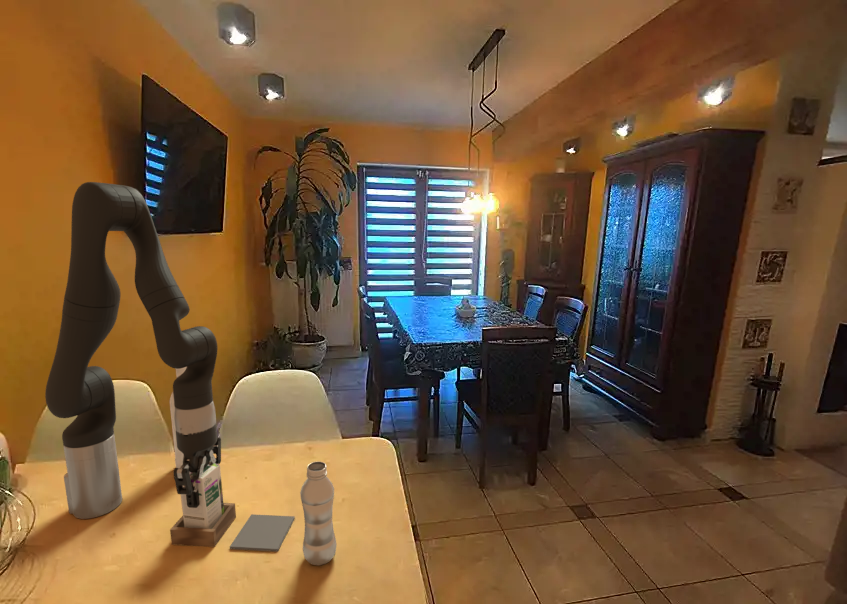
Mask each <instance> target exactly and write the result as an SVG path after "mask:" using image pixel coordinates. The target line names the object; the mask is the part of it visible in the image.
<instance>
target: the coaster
mask: <svg viewBox="0 0 847 604" xmlns="http://www.w3.org/2000/svg"><path fill="white" fill-rule="evenodd" d="M295 520H296V517H295V515H293V516H292V515H275V514H273V515H270V514H255V513H254V514H253V513H252V514H250V516H249V517H248V519H247V520H246V522H245V523H244V524H243V526H242V528H241V529H240V530H239V532H238V534H237V535H236V537H235V538H234V540H232V542H231V544H230V546H229V550H239V551H240V550H241V551H259V552H260V551H261V552H277V553H278V552H279V550H280V548H281V546H282V544H283V542H284V541H285V538H286V536H287V534H288V533H289V531H290V529H291V527H292V525H293V523H294V521H295Z"/></svg>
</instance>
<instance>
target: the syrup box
mask: <svg viewBox="0 0 847 604" xmlns="http://www.w3.org/2000/svg"><path fill="white" fill-rule="evenodd" d="M189 472H190V471H189ZM190 475H197V473H193V472H191V473H190ZM193 483H194V480H191V484H192V486H193ZM198 491H199V503H200V504H199V506H198V507H197V508H189V507H188V506H187V500H186V494H180V500H181V509H182V516H183V519H184V528H204V529H212V528H213V527H214V525H215V524H216V523H217V521H218V520H219V519H220V518H221V516H222V515H223V514H224V504H223V503H224V496H223V495H224V494H223V493H224V492H223V484H222V472H221V465H220V464H208V465H207V466H206V467H204V469H203V474H202V477H201V478H200V479H199V480H198Z"/></svg>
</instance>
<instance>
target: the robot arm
mask: <svg viewBox="0 0 847 604" xmlns="http://www.w3.org/2000/svg"><path fill="white" fill-rule="evenodd" d="M149 208H150V207H148V204H147V201H146V200H145V198H144V196H143V195H142V193H141V192H140V191H139V190H138V189H137V188H134V187H133V186H128V185H122V184H115V183H107V182H97V181H87V182H84V183H81V184H80V185H79V186H78V187H77V189H76V191H75V193H74V195H73V201H72V205H71V227H70V228H71V233H70V234H71V235H70V236H71V237H70V240H71V241H70V255H69V256H70V258H69V266H68V273H67V275H68V276H67V283H66V287H65V292H64V296H63V302H62V303H63V305H62V311H61V313H62V314H61V322H60V329H59V333H58V334H59V335H58V339H57V345H56V350H55V354H54V358H53V362H52V364H51V367H50V368H51V369H50V371H49V375H48V379H47V382H46V385H45V395H44V397H45V404H46V407H47V409H48V411H49V412H50V413H51V414H52V415H53V416H55V417H56V418H59V419H70V418H73V417H76V418H75V419H74V420H73V421H71V423H70V424H68V425H67V426H66V427H65V429H63V431H62V434H61V438H62V444H63V453H64V457H65V458H64V460H65V465H66V472H67V473H65V474H64V475H63V481H64V489H65V495H66V502H67V507H68V514H69V515H70V514H72V515H73V516H74V517H75V518H76V519H82V520H85V519H86V520H89V519H93V518H98V517H100V516H103V515H105V514H108V513H110V512H112V511H114V510H115V509H117V508H118V507H119V506H120V505H121V503H122V502H123V495H122V494H123V493H122V484H121V477H120V469H119V462H118V460H119V459H118V453H117V444H116V437H115V430H114V429H115V428H114V427H115V424H116V421H117V413H116V412H117V409H116V393H115V386H114V381H113V378H112V377H111V375H110V373H109V372H108V371H107V370H106V369H105V368H104V367H101V366H99V365H91V366H89V363H90V361H91V359H92V357H93V356H94V355H95V353H96V352H97V350H98V349H99V347H100V346H101V345H102V344H103V342H104V341H105V340H106V338H107V337H108V335H109V334H110V333H111V332H112V330H113V328H114V326H115V324H116V322H117V320H118V319H117V318H118V313H119V308H120V303H121V289H120V285H119V283H118V281H117V279H116V277H115V275H114V274H113V272H112V270H111V269H110V267H109V265H108V262H107V258H106V244H107V237H108V235H109V232H124V233H125V234H126V236H127V237H128V239H129V241H130V242H131V244H132V246H133V249H134V252H135V253H134V254H135V269H134V284H135V285H134V286H135V290H136V293H137V294H138V297H139V299H140V301H141V303H142V304H143V307H144V309H145V311H146V312H147V314H148V316H149V317H150V319H151V324H152V330H153V335H154V340H155V345H156V349H157V352H158V356H159V358H160V359H161V361H162V362H163V363H164V364H166V365H167V366H168V367H170V368H172V369H175V370H176V369H180V368H184V367H187V368H186V370H185V372H184V373H183V374H181V375H180V376H179V377H175V379H174V381H173V383H172V392H173V395H174V405H175V412H174V420H175V430H176V441H177V448H178V449H179V450H180V451H181V452H182V453H183V454H184V457H183V465H182V466H181V467H180V468H176V467H175V468H174V469H173V471H172V473H173V479H174V484H175V488H176V493H177V495H181V494H186V500H187V506H188V507H189V508H197V507H198V506H199V504H200V503H199V491H198V480H199V479H200V478H201V477H202V474H203V469H204V467H206V466H207V465H208V464H219V465H220V464H221V462H222V439H221V437H220V436H219V437H218V429H217V428H218V427H217V416H216V406H215V403H214V398H213V394H214V393H213V386H212V385H213V384H212V382H213V381H212V380H213V377H214V372H215V366H216V361H217V357H218V341H217V338H216V335H215V334H214V333H213V331H212V330H211V329H209V328H208V327H206V326H199V325H198V326H193V327H190V328H186V329H183V330H182V329H181V324H180V321H181V320H182V319H184V318H186V317H187V316H188V315H189V314H190V306H189V303H188V301H187V299H186V298H185V296H184V294H183V293H182V290H181V289H180V287H179V285H178V283H177V281H176V279H175V277H174V275H173V273H172V271H171V269H170V267H169V265H168V261H167V259H166V256H165V253H164V251H163V247H162V244H161V240H160V238H159V235H158V232H157V229H156V227H155V223H154V220H153V218H152V214H151V212H150V209H149ZM215 455H216V457H215ZM189 471H190V472H189ZM191 472H193V473H197V475H190V473H191ZM191 480H194V483H193V486H192V484H191Z"/></svg>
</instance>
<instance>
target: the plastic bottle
mask: <svg viewBox="0 0 847 604" xmlns="http://www.w3.org/2000/svg"><path fill="white" fill-rule="evenodd" d="M327 475H328V470H327V464H326V463H325V462H324V461H319V460H317V461H312V462H310V463H309V464H307V467H306V480H305V481H304V482H303V484H302V486H301V489H300V492H299V493H300V500H301V505H302V510H303V511H302V512H303V518H304V519H303V520H304V534H303V536H304V537H303V542H302V552H303V556H304V559H305V560H306V562H308V563H309V564H310V565H314V566H323V565H326V564H327V563H329V562H330V561H331V560H332V559H333V558H334V557H335V555H336V551H337V539H336V535H335V529H334V523H333V509H334V507H333V505H334V499H335V497H334V496H335V486H334V484H333V483H332V481H331V480H330V478H329V477H328V476H327Z"/></svg>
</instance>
